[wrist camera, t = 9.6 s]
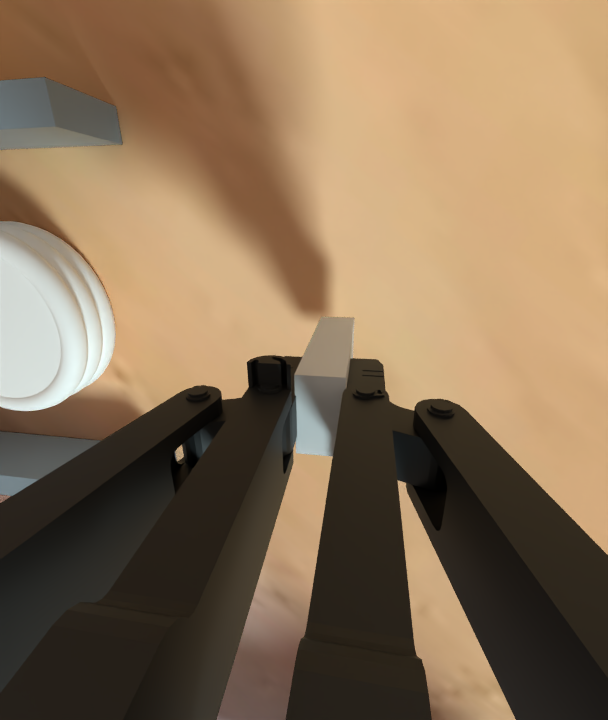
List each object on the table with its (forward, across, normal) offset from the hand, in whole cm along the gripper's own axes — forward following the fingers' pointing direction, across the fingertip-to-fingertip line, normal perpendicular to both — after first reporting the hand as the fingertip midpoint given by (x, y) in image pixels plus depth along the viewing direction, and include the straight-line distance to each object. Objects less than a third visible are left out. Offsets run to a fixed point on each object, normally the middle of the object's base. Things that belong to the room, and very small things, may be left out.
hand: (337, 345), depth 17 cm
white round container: (+3, +18, 0) cm, 18 cm away
